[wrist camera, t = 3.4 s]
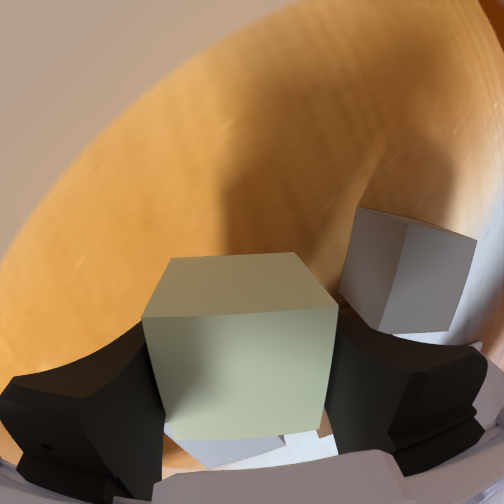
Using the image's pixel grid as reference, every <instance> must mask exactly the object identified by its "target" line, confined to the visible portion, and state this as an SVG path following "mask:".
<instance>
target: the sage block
mask: <svg viewBox="0 0 504 504" xmlns="http://www.w3.org/2000/svg"><path fill="white" fill-rule="evenodd" d="M338 308H339V305H338V304H337V303H336V301H335V300H334V299H333V298H332V297H331V295H330V294H329V293H328V292H327V291H326V289H325V288H324V287H323V286H322V285H321V283H320V282H319V281H318V280H317V279H316V277H315V276H314V275H313V274H312V273H311V271H310V270H309V269H308V268H307V267H306V265H305V264H304V263H303V262H302V261H301V259H300V258H299V257H298V256H297V255H296V254H295V252H284V253H264V254H245V255H225V256H205V257H185V258H171V260H170V262H169V264H168V266H167V268H166V270H165V271H164V273H163V275H162V277H161V279H160V281H159V283H158V285H157V287H156V289H155V290H154V292H153V294H152V296H151V298H150V300H149V302H148V304H147V306H146V308H145V310H144V312H143V314H142V316H141V320H142V325H143V329H144V334H145V338H146V343H147V347H148V351H149V355H150V359H151V363H152V367H153V371H154V375H155V378H156V382H157V386H158V389H159V393H160V396H161V399H162V403H163V406H164V409H165V412H166V415H167V419H168V422H169V425H170V428H171V431H172V433H173V436H174V439H175V440H233V439H248V438H260V437H269V436H278V435H286V434H293V433H299V432H305V431H311V430H317V429H319V427H320V423H321V418H322V413H323V408H324V403H325V397H326V392H327V386H328V380H329V374H330V368H331V362H332V355H333V348H334V341H335V333H336V325H337V317H338Z"/></svg>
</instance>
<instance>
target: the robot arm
mask: <svg viewBox="0 0 504 504" xmlns="http://www.w3.org/2000/svg"><path fill="white" fill-rule="evenodd" d="M482 345H483V344H482V342H480V341H478V342H476V343H473V344H471V345H468V346H453V345H437V344H428V343H422V342H416V341H412V340H407V339H403V338H399V337H396V336H392V335H389V334H386V333H383V332H380V331H378V330H375V329H373V328H370V327H368V326H366V325H364V324H361V323H359V322H357V321H355V320H353V319H351V318H349V317H347V316H345V315H343V314H341V313H340V312H338V317H337V325H336V333H335V341H334V348H333V355H332V362H331V368H330V374H329V380H328V386H327V392H326V397H325V403H324V408H325V410H326V413H327V416H328V419H329V422H330V425H331V429H332V432H333V435H334V439H335V442H336V446H337V450H338V454H339V455H337V456H333V457H328V458H324V459H319V460H314V461H308V462H302V463H296V464H290V465H283V466H275V467H266V468H256V469H243V470H222V471H198V472H189V473H177V474H174V475H172V476H170V477H168V478H166V479H164V480H162V451H163V436H164V425H165V419H166V412H165V409H164V406H163V403H162V399H161V396H160V393H159V389H158V386H157V382H156V378H155V375H154V371H153V367H152V363H151V359H150V355H149V351H148V347H147V343H146V338H145V334H144V329H143V325H142V320H141V321H140V322H139V323H138V324H136V325H135V326H134V327H132V328H131V329H130V330H129V331H127V332H126V333H124V334H123V335H121V336H120V337H119V338H117V339H116V340H114V341H113V342H111V343H110V344H108V345H107V346H105V347H103V348H102V349H100V350H98V351H96V352H94V353H92V354H90V355H88V356H86V357H84V358H81V359H79V360H77V361H74V362H72V363H69V364H67V365H64V366H61V367H58V368H54V369H51V370H47V371H43V372H39V373H34V374H28V375H22V376H15V377H13V378H12V380H11V381H10V382H9V384H8V385H7V386H6V388H5V389H4V391H3V392H2V393H1V395H0V420H1V422H2V424H3V425H4V427H5V428H6V430H7V431H8V433H9V434H10V435H11V437H12V438H13V439H14V441H15V442H16V443H17V445H18V446H19V447H20V448H21V450H22V451H23V452H24V453H23V455H22V457H21V459H20V461H19V463H18V465H17V466H16V465H14V464H12V463H10V462H8V461H6V460H3V459H2V458H1V456H0V504H504V372H503V371H502V370H501V369H500V368H499V367H498V366H496V365H495V364H494V363H493V362H492V361H491V360H490V359H488V358H487V357H486V356H485V355H484V354H483V353H482V352H480V351H481V348H482Z"/></svg>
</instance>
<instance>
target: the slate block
mask: <svg viewBox="0 0 504 504" xmlns="http://www.w3.org/2000/svg"><path fill="white" fill-rule="evenodd" d="M164 433H165V434H166V435H168V436H169V437H170V438H171V439H172V440H173V441H174V442H176V443H177V444H178V445H179V446H180V447H182V448H183V449H184V450H185V451H186V452H188V453H189V454H190V455H191V456H193V457H194V458H195V459H196V460H198V461H199V462H200V463H202V464H203V465H204V466H205V467H207V468H208V469H210V468H214V467H218V466H222V465H226V464H230V463H233V462H237V461H240V460H244V459H247V458H250V457H254V456H257V455H260V454H263V453H266V452H269V451H272V450H275V449H277V448H280V447H283V446H286V444H285V440H284V436H283V435H278V436H269V437H260V438H248V439H233V440H175V439H174V436H173V433H172V431H171V428H170V425H169V422H168V419H167V415H166V419H165V425H164Z"/></svg>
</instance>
